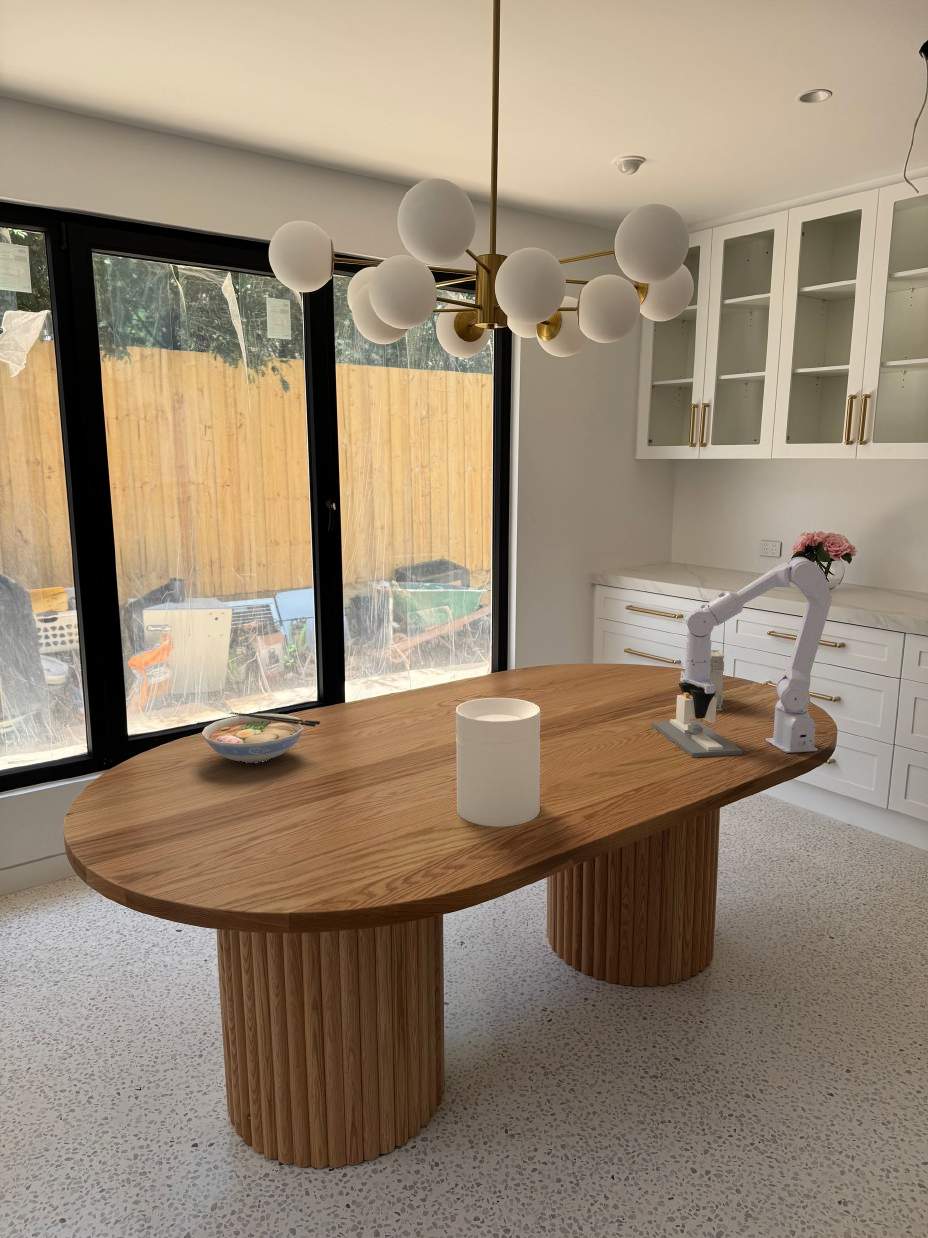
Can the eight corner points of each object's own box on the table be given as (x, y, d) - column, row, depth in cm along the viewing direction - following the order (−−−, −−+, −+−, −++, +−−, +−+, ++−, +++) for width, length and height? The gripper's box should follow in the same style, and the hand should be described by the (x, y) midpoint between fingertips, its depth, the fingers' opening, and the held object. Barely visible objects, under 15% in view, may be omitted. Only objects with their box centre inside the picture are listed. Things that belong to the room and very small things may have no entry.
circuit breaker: (711, 696, 237) (713, 645, 234) (721, 710, 223) (724, 656, 220) (685, 695, 238) (687, 645, 235) (693, 709, 224) (695, 655, 221)
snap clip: (702, 732, 197) (702, 727, 197) (692, 733, 197) (693, 728, 196) (697, 728, 200) (697, 724, 200) (687, 729, 200) (687, 724, 199)
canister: (556, 809, 158) (558, 708, 155) (500, 834, 147) (499, 727, 144) (496, 787, 169) (496, 693, 166) (439, 809, 158) (438, 709, 155)
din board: (741, 754, 188) (742, 746, 187) (692, 757, 186) (692, 749, 186) (696, 723, 211) (697, 716, 211) (652, 726, 209) (652, 719, 209)
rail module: (715, 723, 196) (716, 694, 195) (683, 724, 195) (685, 696, 194) (706, 717, 201) (708, 689, 199) (675, 719, 199) (677, 691, 198)
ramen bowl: (177, 766, 183) (175, 731, 182) (246, 737, 203) (244, 705, 202) (266, 783, 172) (264, 746, 171) (330, 751, 193) (328, 717, 191)
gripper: (669, 654, 202) (667, 707, 204) (695, 667, 188) (692, 724, 190) (697, 653, 203) (694, 706, 205) (724, 666, 189) (721, 723, 191)
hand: (695, 715), depth 198 cm, fingers closed on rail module, 4 cm apart
